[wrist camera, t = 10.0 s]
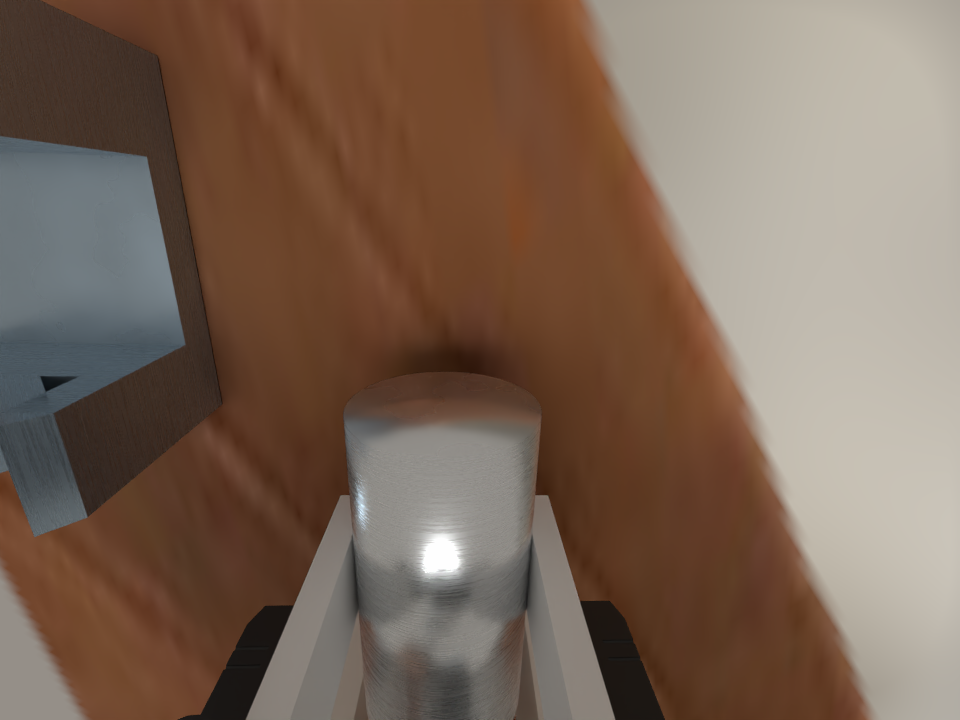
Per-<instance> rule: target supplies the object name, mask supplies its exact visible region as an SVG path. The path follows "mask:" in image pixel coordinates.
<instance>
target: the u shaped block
mask: <svg viewBox="0 0 960 720" xmlns="http://www.w3.org/2000/svg"><path fill="white" fill-rule="evenodd" d="M515 714H516V720H544V716H543V710H542V703H541V697H540V691H539V685H538V678H537V672H536V666H535V660H534V653H533V647H532V641H531V635H530V629H529V622H528V616H527V610H526V615H525V628H524V640H523V652H522V665H521V677H520V690H519V699H518V706H517V710H516V713H515ZM330 720H369V719H368V715H367V709H366V699H365V686H364V674H363V661H362V648H361V635H360V622H359V610H358V614H357V618H356V622H355V626H354V630H353V633H352V637H351V641H350V645H349V649H348V653H347V657H346V661H345V665H344V668H343V672H342V676H341V680H340V684H339V688H338V692H337V696H336V699H335V703H334V707H333V711H332V715H331V719H330Z"/></svg>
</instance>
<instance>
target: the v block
mask: <svg viewBox="0 0 960 720" xmlns="http://www.w3.org/2000/svg"><path fill="white" fill-rule="evenodd" d="M220 405H222V401H221V396H220V390H219V385H218V379H217V374H216V369H215V363H214V358H213V353H212V347H211V342H210V336H209V331H208V326H207V320H206V315H205V309H204V304H203V299H202V293H201V288H200V283H199V277H198V272H197V266H196V261H195V256H194V250H193V245H192V240H191V234H190V229H189V223H188V218H187V213H186V207H185V202H184V196H183V191H182V186H181V180H180V175H179V170H178V164H177V159H176V153H175V148H174V143H173V137H172V132H171V127H170V121H169V116H168V110H167V105H166V100H165V94H164V89H163V83H162V78H161V73H160V67H159V62H158V57H157V55H155V54H153V53H150V52H148V51H146V50H144V49H142V48H140V47H138V46H136V45H134V44H131V43H129V42H127V41H125V40H123V39H121V38H119V37H117V36H114V35H112V34H110V33H108V32H106V31H104V30H102V29H100V28H98V27H95V26H93V25H91V24H89V23H87V22H85V21H83V20H81V19H79V18H76V17H74V16H72V15H70V14H68V13H66V12H64V11H62V10H60V9H57V8H55V7H53V6H51V5H49V4H47V3H45V2H43V1H40V0H0V473H1V472H4V471H8V470H9V472H10V475H11V477H12V480H13V483H14V485H15V488H16V490H17V493H18V496H19V498H20V501H21V503H22V506H23V508H24V511H25V514H26V516H27V519H28V521H29V524H30V526H31V529H32V532H33V534H34V537H35V536H38V535H41V534H44V533H46V532H49V531H52V530H54V529H57V528H60V527H63V526H65V525H68V524H71V523H74V522H76V521H79V520H82V519H84V518H87V517H88V516H90V515H91V514H92V513H93V512H94V511H96V510H97V509H98V508H99V507H100V506H101V505H103V504H104V503H105V502H106V501H107V500H109V499H110V498H111V497H112V496H113V495H115V494H116V493H117V492H118V491H119V490H121V489H122V488H123V487H124V486H125V485H126V484H128V483H129V482H130V481H131V480H132V479H134V478H135V477H136V476H137V475H138V474H140V473H141V472H142V471H143V470H144V469H145V468H147V467H148V466H149V465H150V464H151V463H153V462H154V461H155V460H156V459H157V458H159V457H160V456H161V455H162V454H163V453H165V452H166V451H167V450H168V449H169V448H170V447H172V446H173V445H174V444H175V443H176V442H178V441H179V440H180V439H181V438H182V437H184V436H185V435H186V434H187V433H188V432H189V431H191V430H192V429H193V428H194V427H195V426H197V425H198V424H199V423H200V422H201V421H203V420H204V419H205V418H206V417H207V416H209V415H210V414H211V413H212V412H213V411H214V410H216V409H217V408H218V407H219V406H220Z"/></svg>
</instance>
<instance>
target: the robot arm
mask: <svg viewBox="0 0 960 720" xmlns="http://www.w3.org/2000/svg"><path fill="white" fill-rule="evenodd" d="M526 610H527V616H528V622H529V629H530V635H531V641H532V647H533V653H534V660H535V666H536V672H537V678H538V685H539V691H540V697H541V703H542V710H543V716H544V720H665V719H664V716H663V714H662V711H661V709H660V706H659V704H658V701H657V699H656V696H655V694H654V691H653V689H652V686H651V684H650V681H649V679H648V676H647V674H646V671H645V668H644V666H643V663H642V661H640V656H639V653H638V651H637V648H636V646H635V644H634V643H633V638H632V636H631V633H630V631H629V628H628V626H627V623H626V621H625V618H624V617H623V616H622V615H621V614H620V613H619V611H618V610H617V609H616V608H615V607H614V605H613V604H612V603H611V602H610V601H579V597H578V594H577V591H576V587H575V584H574V581H573V577H572V574H571V571H570V567H569V564H568V561H567V557H566V554H565V551H564V547H563V544H562V541H561V537H560V534H559V531H558V527H557V524H556V521H555V517H554V514H553V511H552V507H551V504H550V501H549V497H548V495H535V504H534V516H533V528H532V541H531V553H530V566H529V578H528V590H527V603H526ZM357 614H358V597H357V584H356V571H355V558H354V546H353V533H352V520H351V507H350V495H341V496H340V498H339V501H338V503H337V505H336V508H335V510H334V512H333V515H332V517H331V519H330V522H329V524H328V527H327V529H326V531H325V534H324V536H323V538H322V541H321V543H320V545H319V548H318V550H317V553H316V555H315V557H314V560H313V562H312V564H311V567H310V569H309V571H308V574H307V576H306V579H305V581H304V583H303V586H302V588H301V590H300V593H299V595H298V597H297V600H296V602H295V605H294V606H265V607H264V608H263V609H262V610H261V611H260V612H259V613H258V614H257V615H256V616H255V617H254V618H253V619H252V620H251V621H250V622H249V623H248V624H247V626H246V628H245V630H244V632H243V634H242V636H241V637H240V639H239V641H238V643H237V645H236V649H235V651H233V653H232V655H231V657H230V659H229V661H228V663H227V665H226V669H225V670H223V672H222V674H221V676H220V678H219V680H218V682H217V684H216V686H215V688H214V690H213V692H212V694H211V695H210V697H209V699H208V701H207V703H206V705H205V707H204V709H203V711H202V713H201V715H190V716H185V717H183V718H180V719H178V720H330V719H331V715H332V711H333V707H334V703H335V699H336V696H337V692H338V688H339V684H340V680H341V676H342V672H343V668H344V665H345V661H346V657H347V653H348V649H349V645H350V641H351V637H352V633H353V630H354V626H355V622H356V618H357Z"/></svg>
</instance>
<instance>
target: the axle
mask: <svg viewBox="0 0 960 720" xmlns="http://www.w3.org/2000/svg"><path fill="white" fill-rule="evenodd" d="M541 417H542V412H541V407H540V404H539V403H538V401H537V400H536V399H535V398H534V396H533V395H531V394H530V393H529V392H527V391H526V390H524V389H523V388H521V387H519V386H517V385H515V384H513V383H510V382H507V381H505V380H502V379H498V378H495V377H490V376H486V375H480V374H473V373H465V372H424V373H415V374H408V375H402V376H398V377H394V378H390V379H386V380H383V381H380V382H378V383H375V384H373V385H370V386H368V387H366V388H364V389H363V390H361V391H359V392H358V393H357V394H355V395H354V396H353V397H352V398H351V399H350V400H349V401H348V403H347V404H346V406H345V409H344V415H343V418H344V430H345V443H346V456H347V469H348V482H349V494H350V507H351V520H352V533H353V546H354V558H355V571H356V584H357V597H358V610H359V622H360V635H361V648H362V661H363V674H364V686H365V699H366V709H367V715H368V719H369V720H513V719H514V717H515V713H516V710H517V706H518V699H519V690H520V677H521V665H522V652H523V640H524V628H525V615H526V603H527V590H528V578H529V566H530V553H531V541H532V528H533V516H534V504H535V491H536V479H537V467H538V454H539V442H540V429H541Z"/></svg>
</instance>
